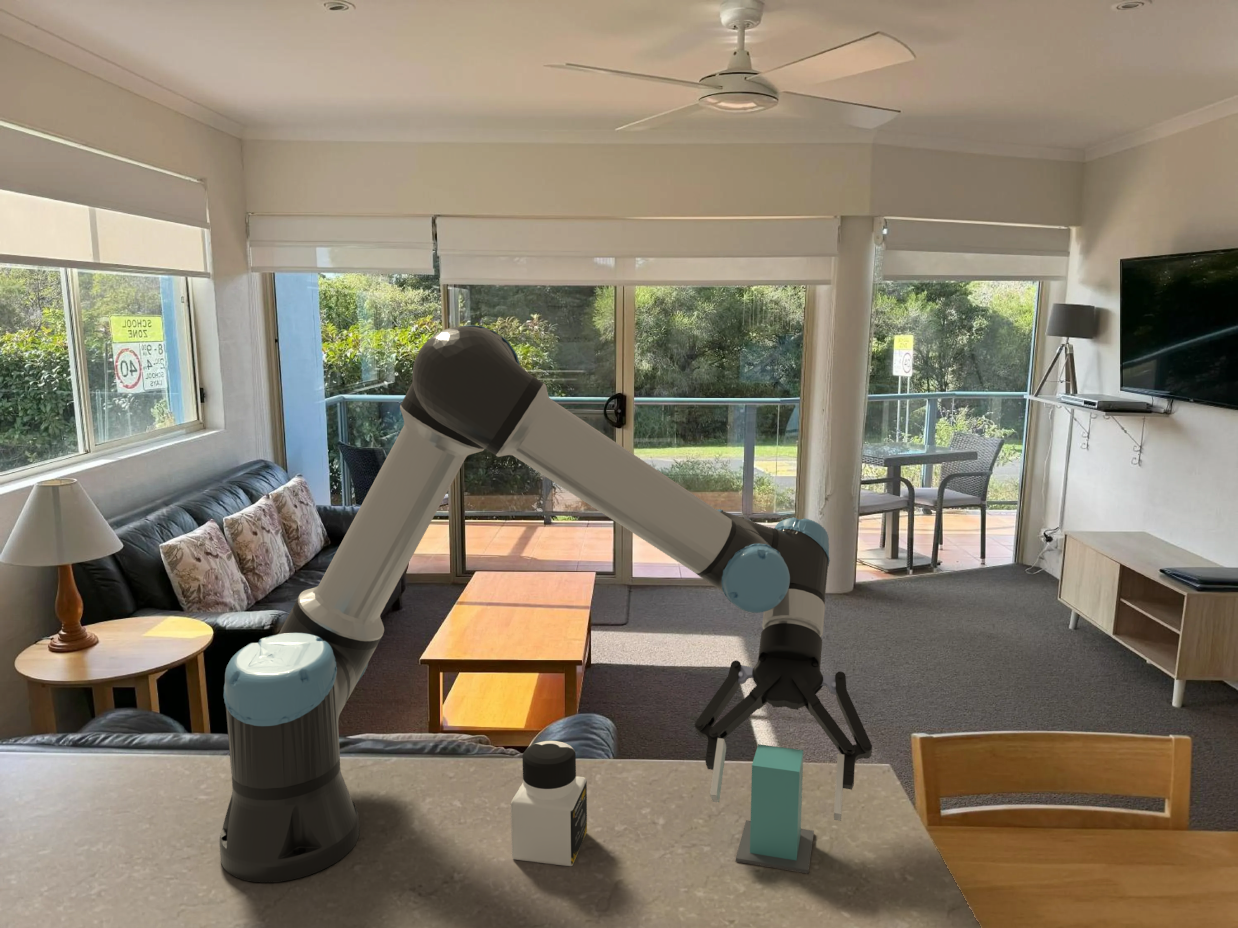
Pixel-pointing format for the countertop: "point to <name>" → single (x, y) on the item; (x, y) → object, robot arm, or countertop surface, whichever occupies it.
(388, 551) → the robot arm
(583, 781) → the medicine bottle
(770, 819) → the tall teal pillar
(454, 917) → the countertop surface
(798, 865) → the grey square base plate
